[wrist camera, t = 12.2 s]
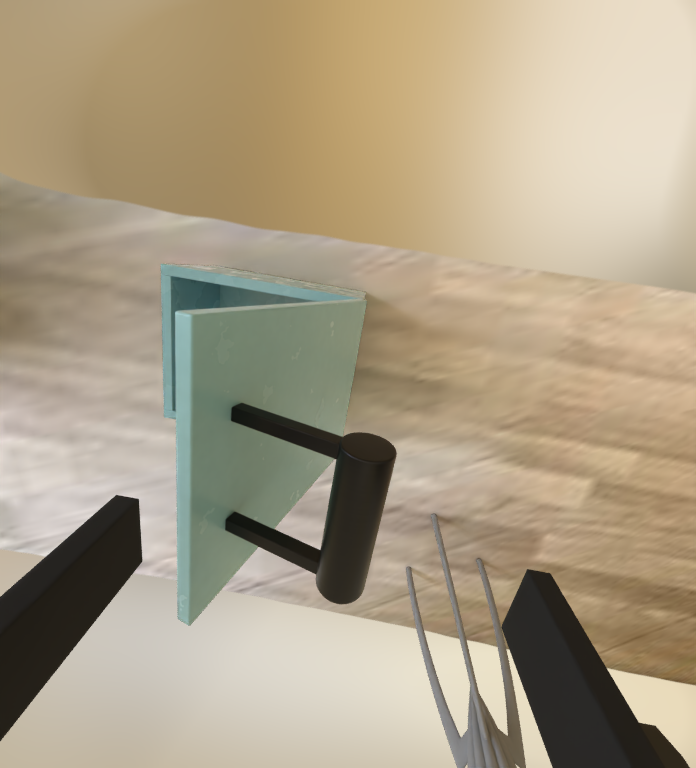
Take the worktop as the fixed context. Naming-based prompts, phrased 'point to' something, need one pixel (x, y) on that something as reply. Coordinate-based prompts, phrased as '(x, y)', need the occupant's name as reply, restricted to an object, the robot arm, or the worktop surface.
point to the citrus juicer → (474, 689)
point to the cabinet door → (271, 445)
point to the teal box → (226, 302)
